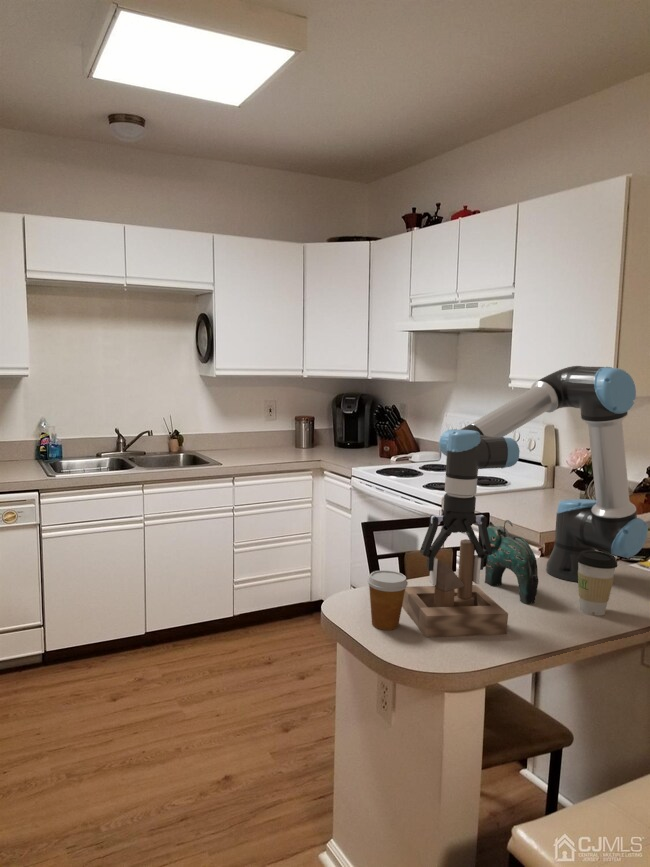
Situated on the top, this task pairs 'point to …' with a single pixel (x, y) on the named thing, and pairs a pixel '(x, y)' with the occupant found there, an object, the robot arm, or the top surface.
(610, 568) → the coffee cup
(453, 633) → the walnut slotted base
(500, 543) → the teal animal figurine
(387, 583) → the disposable coffee cup
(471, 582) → the wooden post with wedge
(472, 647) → the top surface
